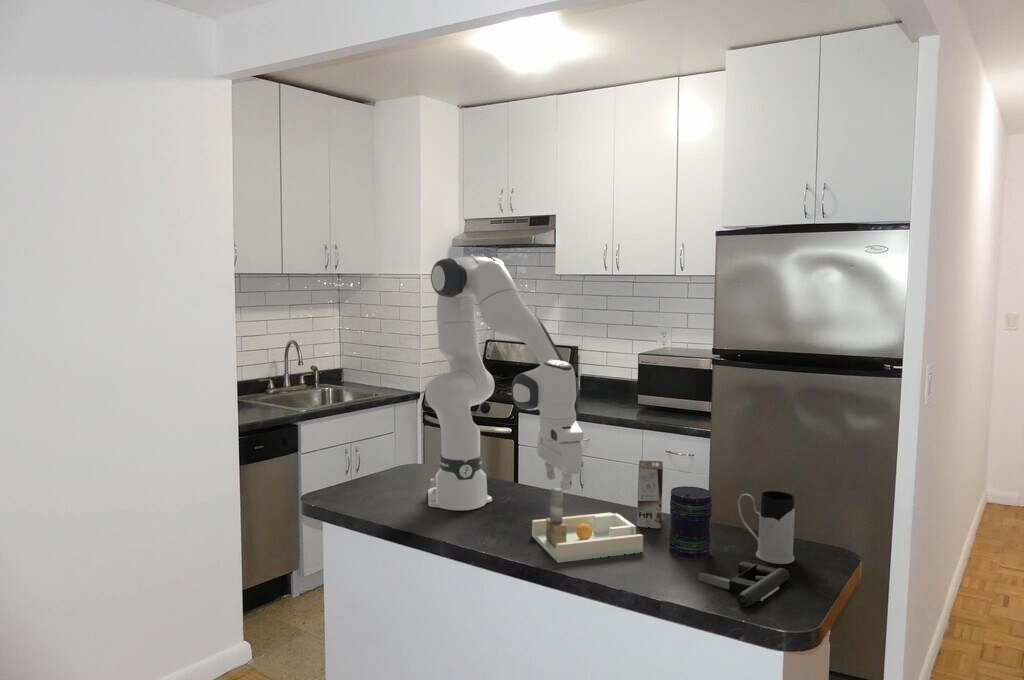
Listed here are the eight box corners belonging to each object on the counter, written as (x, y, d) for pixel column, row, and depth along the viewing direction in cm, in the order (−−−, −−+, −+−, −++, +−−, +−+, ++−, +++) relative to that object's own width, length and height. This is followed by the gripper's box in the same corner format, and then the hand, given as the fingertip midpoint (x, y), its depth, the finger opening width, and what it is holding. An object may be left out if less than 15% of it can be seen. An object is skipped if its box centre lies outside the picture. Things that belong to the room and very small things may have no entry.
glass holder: (785, 566, 173) (788, 503, 172) (728, 550, 183) (730, 490, 182) (800, 556, 180) (803, 495, 178) (744, 541, 189) (746, 483, 188)
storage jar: (676, 542, 189) (678, 483, 187) (715, 549, 184) (717, 490, 182) (662, 554, 180) (664, 494, 179) (703, 563, 175) (705, 500, 174)
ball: (573, 537, 187) (573, 522, 187) (588, 536, 189) (588, 520, 188) (579, 543, 184) (580, 527, 183) (594, 541, 185) (595, 525, 185)
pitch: (532, 536, 192) (532, 516, 191) (610, 527, 198) (610, 508, 198) (557, 562, 175) (558, 541, 174) (642, 552, 181) (643, 531, 181)
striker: (545, 538, 186) (546, 486, 185) (557, 536, 187) (558, 485, 186) (554, 546, 181) (555, 493, 179) (566, 545, 181) (567, 492, 180)
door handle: (683, 578, 161) (754, 597, 150) (728, 553, 176) (796, 569, 165) (684, 593, 162) (754, 613, 150) (728, 567, 176) (796, 583, 165)
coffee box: (661, 529, 198) (663, 469, 196) (636, 527, 199) (638, 467, 198) (661, 517, 207) (663, 460, 205) (637, 516, 208) (639, 459, 207)
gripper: (531, 420, 190) (531, 474, 191) (561, 437, 171) (561, 496, 172) (554, 419, 192) (554, 472, 193) (586, 435, 172) (586, 493, 174)
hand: (557, 483), depth 182 cm, fingers open, 8 cm apart
